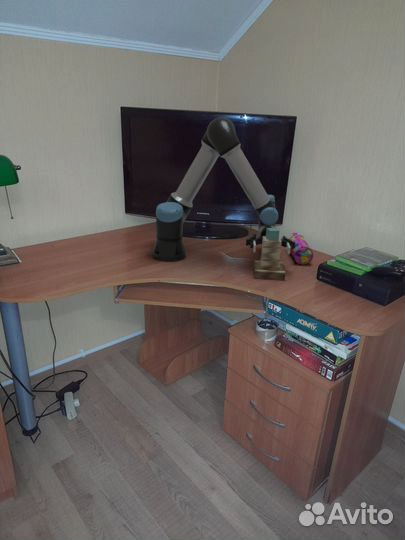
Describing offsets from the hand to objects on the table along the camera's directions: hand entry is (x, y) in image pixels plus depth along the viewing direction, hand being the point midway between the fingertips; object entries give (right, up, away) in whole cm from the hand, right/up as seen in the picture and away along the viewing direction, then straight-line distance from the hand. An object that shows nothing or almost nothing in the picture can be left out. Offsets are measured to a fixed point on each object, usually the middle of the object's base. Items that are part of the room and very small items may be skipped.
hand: (271, 250), depth 153 cm
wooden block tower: (0, -7, +6) cm, 9 cm away
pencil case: (+17, -2, +28) cm, 33 cm away
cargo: (0, +5, +2) cm, 5 cm away
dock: (0, -9, +7) cm, 12 cm away
